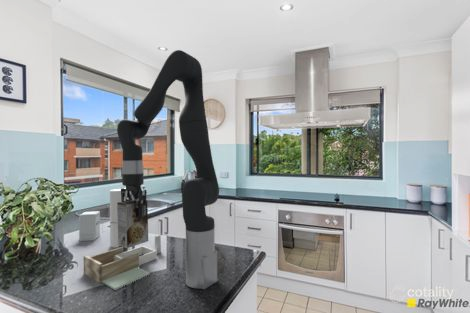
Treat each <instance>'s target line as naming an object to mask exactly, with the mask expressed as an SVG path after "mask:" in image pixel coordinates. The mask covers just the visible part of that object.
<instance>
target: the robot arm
mask: <svg viewBox="0 0 470 313" xmlns="http://www.w3.org/2000/svg"><path fill="white" fill-rule="evenodd" d="M175 81H178V82H181V83H182V85H183V91H184V102H183V106H182V108H181V110H180V114H179V117H178V128H179V135H180V140H181V142H182V145H183V146H184V148H185V150H186V151H187V153H188V155H189V156H190V157H191V159H192V161H193V164H194V165H195V166H194V168H195V172H196V177H197V178H196V177H195V178H190V179H188V180H186V181H185V183H184V184H183V186H182V191H181V203H182V218H183V221H184V222H183V223H184V224H185V284H186V285H187V287H189V288H193V289H200V290H201V289H202V290H206V289H207V288H209V287H210V286H212V285H214V284H216V283H217V282H218V252H217V251H216V249H215V248H216V246H215V242H216V241H215V239H216V238H215V236H216V235H215V234H216V233H215V231H216V230H215V228H216V225H215V219H214V217H212V216H208V215H207V212H206V206H210V205H211V206H212V205H213V204H215V203H216V202H217V201H218V199H219V196H220V189H219V188H220V187H219V182H218V178H217V175H216V169H215V166H214V161H213V155H212V149H211V145H210V144H211V143H210V138H209V128H208V121H207V120H208V119H207V115H206V108H205V100H204V89H203V87H204V86H203V70H202V65H201V63H200V62H199V59H197V58H196V57H194V56H192V55H191V54H189V53H187V52H186V51H183V50H180V49H179V50H174V51H172V52H171V53H170V55H169V56H168V57H167V58H166V60H165V61H164V63H163V65H162V67H161V69H160V71H159V72H158V75H157V76H156V78H155V80H154V82H153V84H152V86H151V88H150V89H149V91H148V93H147V94H146V96H145V97H144V98H143V99H142V101H140V103H139V104H138V105H137V107H136V109H135V110H134V112H133V113H134V114H133V115H134V118H135V120H133V119H127V118H125V119H121V120H120V121H119V123H118V124H117V127H116V131H117V137H118V139H119V143H120V146H121V150H122V163H121V164H122V166H121V176H122V177H121V181H122V183H121V184H122V186H125V187H123V188H120V189H121V201H122V202H123V201H130V200H132V201H133V202H134V203H135V206H136V218H140V217H142V207H143V206H146V200H147V191H148V190H147V189H142V187H141V186H142V185H144V183H145V182H144V163H143V147H142V146H141V145H140V144H139V145H138V144H136V143H135V141H134V140H141V139H143V138H144V137H145V136H146V135H147V134H148V131H149V129H150V126H151V124H152V122H153V121H154V120H155V119H156V118H157V116H158V115H159V114H160V113H161V111H162V110H163V108H164V104H165V100H166V95H167V91H168V90H169V88H170V87H171V85H172V84H174V82H175ZM124 197H125V198H124ZM142 200H143V203H142ZM137 202H138V203H137Z"/></svg>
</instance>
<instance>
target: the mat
mask: <svg viewBox="0 0 470 313" xmlns="http://www.w3.org/2000/svg"><path fill="white" fill-rule="evenodd" d="M147 275H148V276H149V275H151V273H150V272H149V271H146V270H144V269H142V268H140V267H139V268H138V267H136V268H133V269H131V270H128V271H126V272H123V273H121V274H118V275H116V276H113V277H110V278H108V279H105V280H103V282H102V283H103V284H104V283H105V284H104V285H106V286H107V287H109V288H110V289H113V290H114V291H117V290H119V289H121V288H124V287H125V285H126V286H128V285H130V284H133V283H135V282H137V281H138V279H139V280H141V278H142V279H144V278H146V277H148V276H147ZM145 276H146V277H145ZM143 277H144V278H143ZM136 280H137V281H136ZM134 281H135V282H134ZM132 282H133V283H132ZM123 286H124V287H123Z"/></svg>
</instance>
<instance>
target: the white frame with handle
mask: <svg viewBox="0 0 470 313" xmlns="http://www.w3.org/2000/svg"><path fill="white" fill-rule="evenodd" d="M161 236H162V235H161V234H156V235H154V248H150V247H147V246H145V245H141V246H138V247H135V248H132V249H130V250H126V251H123V252H122V253H119V254H116V255H114V261H117V260H120V259H122V258H125V257H128V256H131V255H134V254H137V253H138V254H139V266H141V265H143V264H146V263H149V262H151V261H153V260H154V261H155V260H156V259H157V255H158V254H160V253H161V252H162V246H161V244H162V242H161V241H162V240H161V239H162V238H161Z"/></svg>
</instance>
